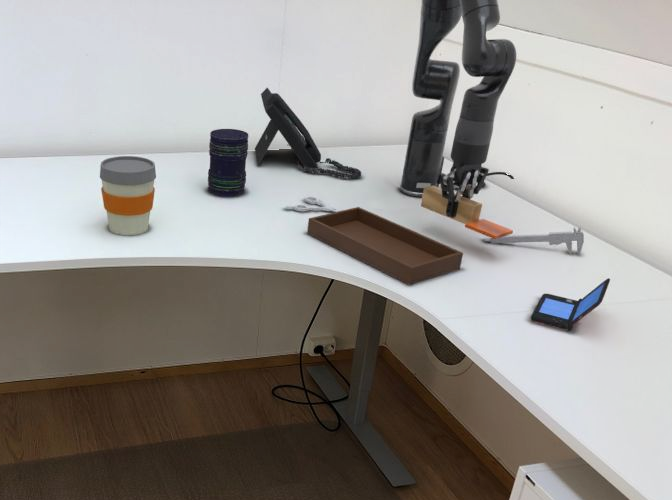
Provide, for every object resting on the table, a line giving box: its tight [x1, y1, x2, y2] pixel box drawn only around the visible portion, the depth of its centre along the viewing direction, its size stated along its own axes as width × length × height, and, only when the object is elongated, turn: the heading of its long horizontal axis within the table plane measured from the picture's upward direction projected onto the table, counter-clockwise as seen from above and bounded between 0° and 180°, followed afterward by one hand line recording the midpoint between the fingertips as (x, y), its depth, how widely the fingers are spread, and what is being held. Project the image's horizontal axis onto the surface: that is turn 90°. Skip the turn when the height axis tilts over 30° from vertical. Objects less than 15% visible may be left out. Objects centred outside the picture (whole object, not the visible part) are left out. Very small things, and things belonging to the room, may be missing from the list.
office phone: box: [254, 87, 362, 180], centre depth 225 cm, size 29×28×20 cm
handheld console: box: [530, 277, 611, 332], centre depth 149 cm, size 12×11×7 cm
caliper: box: [484, 226, 585, 255], centre depth 179 cm, size 20×1×6 cm, turn 73°
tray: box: [306, 206, 464, 286], centre depth 175 cm, size 16×32×4 cm, turn 34°
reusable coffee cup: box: [99, 155, 157, 236], centre depth 179 cm, size 13×13×15 cm
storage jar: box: [207, 128, 249, 198], centre depth 203 cm, size 10×10×15 cm
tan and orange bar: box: [420, 186, 514, 239], centre depth 176 cm, size 6×22×4 cm, turn 34°
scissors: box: [285, 196, 344, 213], centre depth 196 cm, size 11×1×20 cm
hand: (456, 214), depth 179 cm, fingers closed on tan and orange bar, 3 cm apart
